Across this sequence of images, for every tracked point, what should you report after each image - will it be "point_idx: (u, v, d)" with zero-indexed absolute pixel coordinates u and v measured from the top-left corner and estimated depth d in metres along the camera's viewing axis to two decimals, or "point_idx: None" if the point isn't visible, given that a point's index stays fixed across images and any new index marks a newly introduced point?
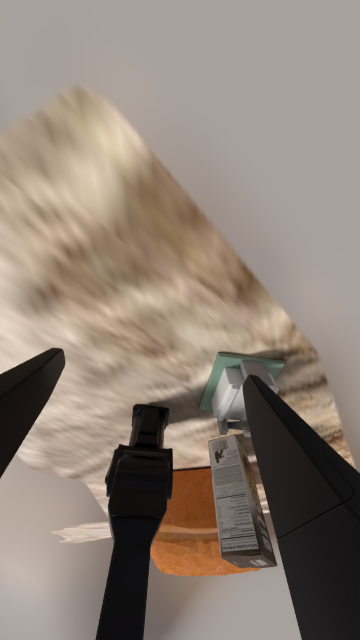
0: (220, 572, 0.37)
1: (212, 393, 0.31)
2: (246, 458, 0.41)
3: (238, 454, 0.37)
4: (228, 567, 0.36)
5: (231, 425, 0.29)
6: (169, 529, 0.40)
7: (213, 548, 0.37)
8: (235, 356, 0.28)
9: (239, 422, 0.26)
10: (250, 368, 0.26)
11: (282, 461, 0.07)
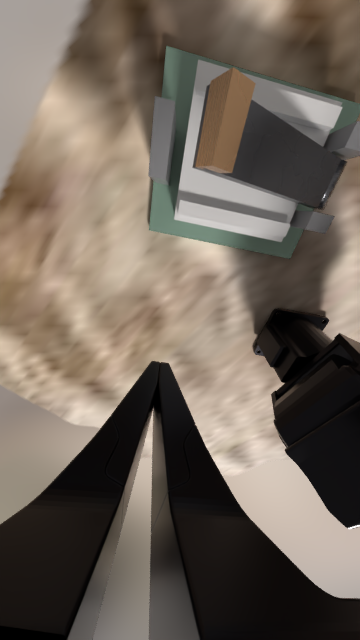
0: None
1: (244, 235, 0.17)
2: None
3: None
4: None
5: (301, 203, 0.12)
6: None
7: None
8: None
9: None
10: None
11: (157, 450, 0.06)
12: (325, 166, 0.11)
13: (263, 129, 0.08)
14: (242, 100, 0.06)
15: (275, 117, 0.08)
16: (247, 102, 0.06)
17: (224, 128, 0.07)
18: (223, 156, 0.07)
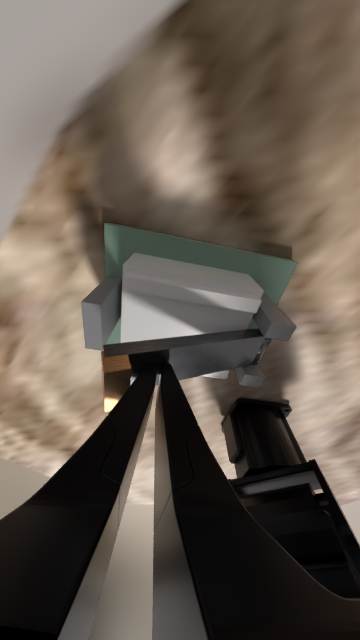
0: None
1: None
2: None
3: None
4: None
5: None
6: None
7: None
8: None
9: None
10: None
11: (160, 450, 0.06)
12: (247, 345, 0.11)
13: (163, 358, 0.09)
14: (121, 379, 0.07)
15: (175, 346, 0.09)
16: (127, 377, 0.08)
17: (108, 395, 0.08)
18: (114, 404, 0.08)
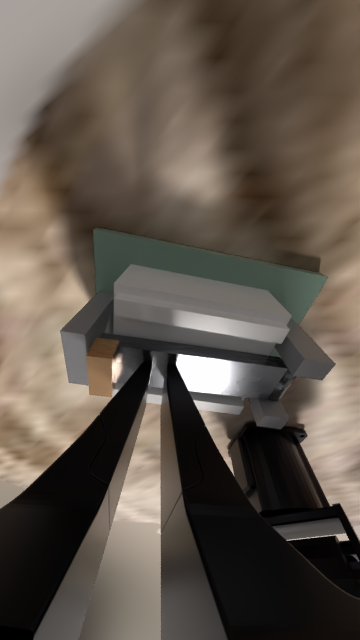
0: None
1: None
2: None
3: None
4: None
5: None
6: None
7: None
8: None
9: None
10: None
11: (167, 451, 0.06)
12: (260, 374, 0.09)
13: (154, 360, 0.09)
14: (103, 367, 0.08)
15: (168, 351, 0.09)
16: (108, 367, 0.08)
17: (91, 379, 0.08)
18: (98, 390, 0.09)
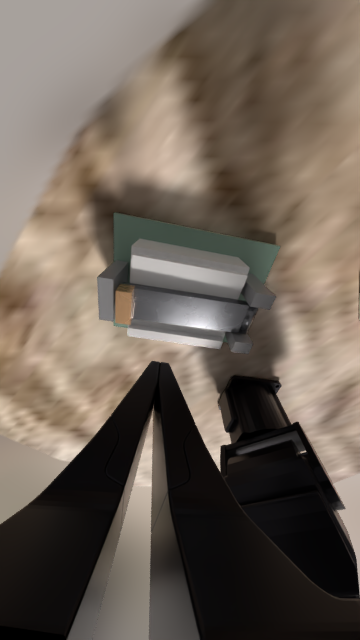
0: None
1: None
2: None
3: None
4: None
5: None
6: None
7: None
8: None
9: None
10: None
11: (157, 450, 0.06)
12: (231, 310, 0.14)
13: (158, 299, 0.13)
14: (125, 299, 0.12)
15: (168, 292, 0.13)
16: (129, 299, 0.12)
17: (117, 309, 0.12)
18: (121, 319, 0.13)
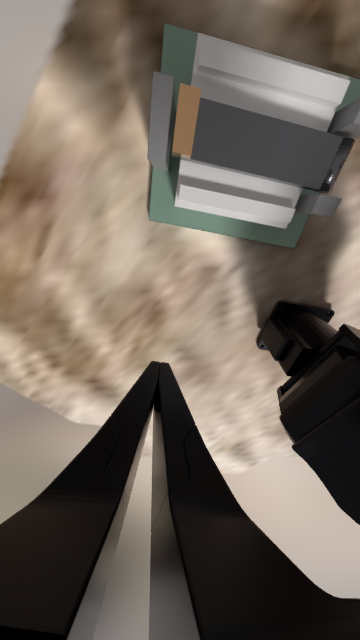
0: None
1: (246, 224, 0.16)
2: None
3: None
4: None
5: (297, 185, 0.12)
6: None
7: None
8: (152, 183, 0.15)
9: (249, 175, 0.12)
10: None
11: (157, 450, 0.06)
12: (319, 146, 0.11)
13: (228, 121, 0.10)
14: (191, 102, 0.09)
15: (241, 109, 0.10)
16: (196, 103, 0.09)
17: (178, 124, 0.09)
18: (181, 144, 0.10)
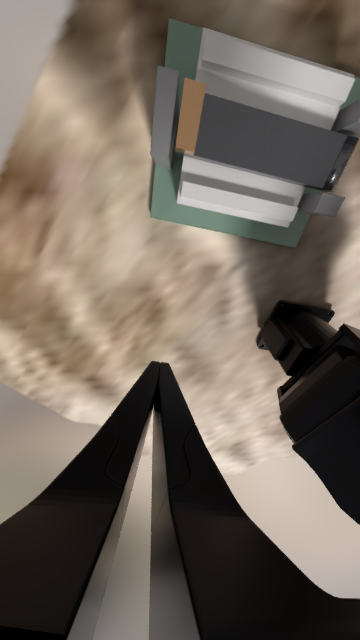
0: None
1: (248, 222, 0.16)
2: None
3: None
4: None
5: (300, 183, 0.12)
6: None
7: None
8: (154, 180, 0.15)
9: None
10: None
11: (157, 450, 0.06)
12: (322, 144, 0.11)
13: (232, 117, 0.10)
14: (196, 97, 0.09)
15: (246, 106, 0.10)
16: (200, 98, 0.09)
17: (182, 119, 0.09)
18: (184, 139, 0.10)
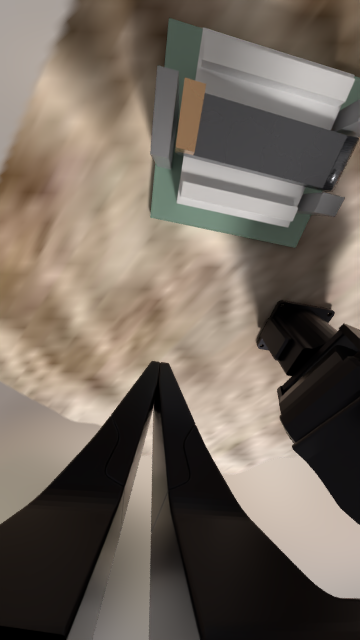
0: None
1: (248, 222, 0.16)
2: None
3: None
4: None
5: (300, 183, 0.12)
6: None
7: None
8: (154, 180, 0.15)
9: None
10: None
11: (157, 450, 0.06)
12: (322, 144, 0.11)
13: (232, 117, 0.10)
14: (196, 97, 0.09)
15: (246, 106, 0.10)
16: (200, 98, 0.09)
17: (182, 119, 0.09)
18: (184, 139, 0.10)
